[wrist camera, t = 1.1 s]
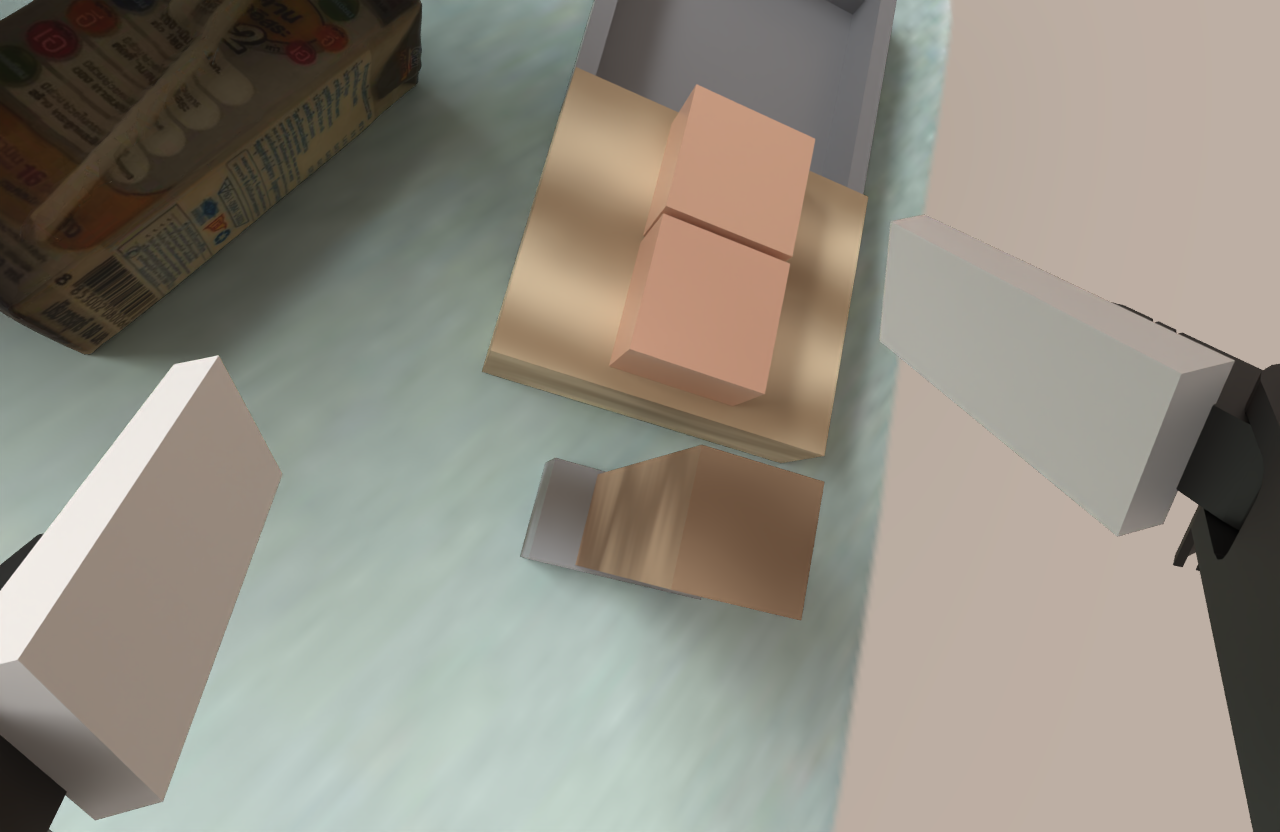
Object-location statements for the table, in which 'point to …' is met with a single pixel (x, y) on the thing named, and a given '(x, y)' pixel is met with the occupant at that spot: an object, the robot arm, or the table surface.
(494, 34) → the table surface
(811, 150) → the tile rear
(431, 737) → the table surface
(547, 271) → the board
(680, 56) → the tray
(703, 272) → the tile front
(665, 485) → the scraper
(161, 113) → the beverage carton
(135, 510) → the robot arm
